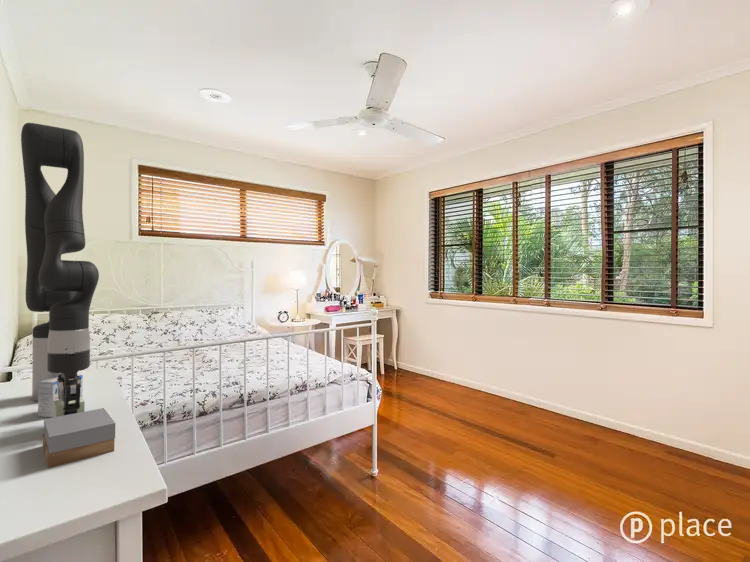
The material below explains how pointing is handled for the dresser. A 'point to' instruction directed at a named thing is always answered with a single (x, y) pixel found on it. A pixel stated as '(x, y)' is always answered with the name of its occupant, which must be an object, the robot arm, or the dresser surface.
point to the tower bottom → (77, 452)
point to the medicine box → (50, 395)
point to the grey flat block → (78, 430)
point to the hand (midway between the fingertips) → (68, 423)
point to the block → (59, 407)
